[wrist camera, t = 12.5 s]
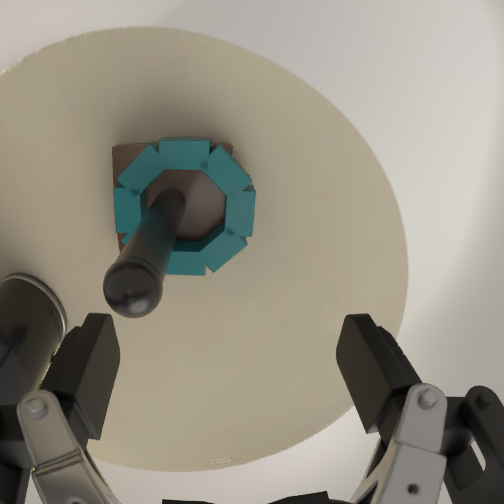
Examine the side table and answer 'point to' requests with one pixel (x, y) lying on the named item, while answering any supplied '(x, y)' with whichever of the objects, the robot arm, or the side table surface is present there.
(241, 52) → the side table surface
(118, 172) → the peg stand
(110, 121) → the side table surface
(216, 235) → the ring
